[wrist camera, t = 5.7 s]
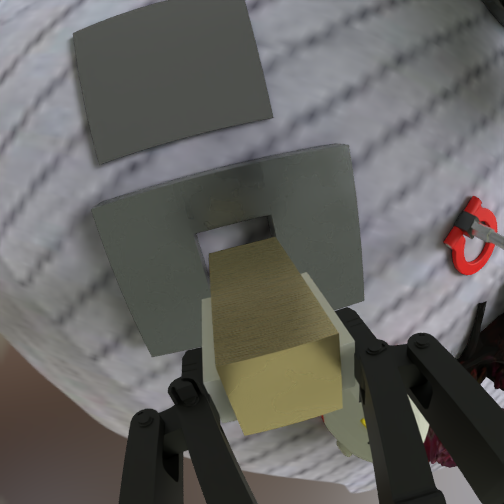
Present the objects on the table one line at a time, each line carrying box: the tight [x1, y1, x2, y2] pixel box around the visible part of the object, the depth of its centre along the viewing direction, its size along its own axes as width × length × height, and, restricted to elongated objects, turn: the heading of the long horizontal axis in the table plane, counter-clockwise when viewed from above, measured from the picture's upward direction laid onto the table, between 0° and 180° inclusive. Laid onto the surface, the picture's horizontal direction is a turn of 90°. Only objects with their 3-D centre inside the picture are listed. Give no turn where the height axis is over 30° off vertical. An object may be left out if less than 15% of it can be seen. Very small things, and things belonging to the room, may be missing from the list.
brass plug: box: [209, 237, 343, 436], centre depth 17 cm, size 4×4×11 cm
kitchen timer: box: [321, 378, 429, 463], centre depth 30 cm, size 14×14×15 cm
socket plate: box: [91, 144, 364, 357], centre depth 26 cm, size 20×14×2 cm
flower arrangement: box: [423, 301, 504, 468], centre depth 33 cm, size 31×20×15 cm, turn 142°
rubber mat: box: [73, 0, 273, 165], centre depth 20 cm, size 14×12×1 cm
